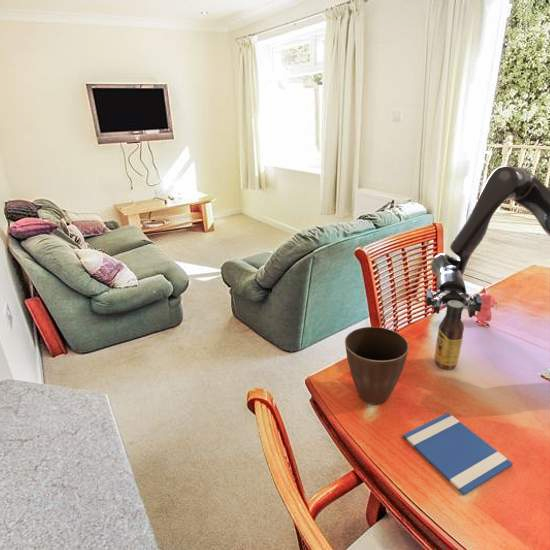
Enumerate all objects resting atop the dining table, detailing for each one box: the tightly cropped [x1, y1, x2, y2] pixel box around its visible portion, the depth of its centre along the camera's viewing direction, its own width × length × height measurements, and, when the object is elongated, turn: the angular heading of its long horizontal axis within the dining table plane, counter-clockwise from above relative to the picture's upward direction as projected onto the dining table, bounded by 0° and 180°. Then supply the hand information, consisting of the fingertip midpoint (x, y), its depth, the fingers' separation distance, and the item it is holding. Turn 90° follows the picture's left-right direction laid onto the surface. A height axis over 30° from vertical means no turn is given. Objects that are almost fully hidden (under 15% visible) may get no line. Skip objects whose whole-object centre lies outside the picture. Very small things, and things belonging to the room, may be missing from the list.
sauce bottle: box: [433, 300, 465, 370], centre depth 103 cm, size 6×6×20 cm
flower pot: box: [344, 326, 410, 405], centre depth 94 cm, size 15×15×16 cm
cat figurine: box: [473, 287, 498, 328], centre depth 123 cm, size 7×7×12 cm
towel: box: [402, 412, 513, 496], centre depth 80 cm, size 14×16×1 cm
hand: (454, 312), depth 98 cm, fingers open, 7 cm apart
